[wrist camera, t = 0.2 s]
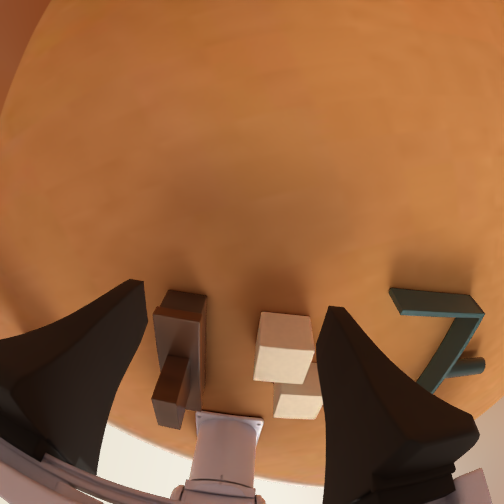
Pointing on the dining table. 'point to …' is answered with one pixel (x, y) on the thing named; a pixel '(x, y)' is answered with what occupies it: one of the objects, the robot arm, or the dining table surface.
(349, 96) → the dining table surface
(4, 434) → the robot arm
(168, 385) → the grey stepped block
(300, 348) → the cream white cube
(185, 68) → the dining table surface
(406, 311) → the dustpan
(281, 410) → the beige cube
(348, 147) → the dining table surface
